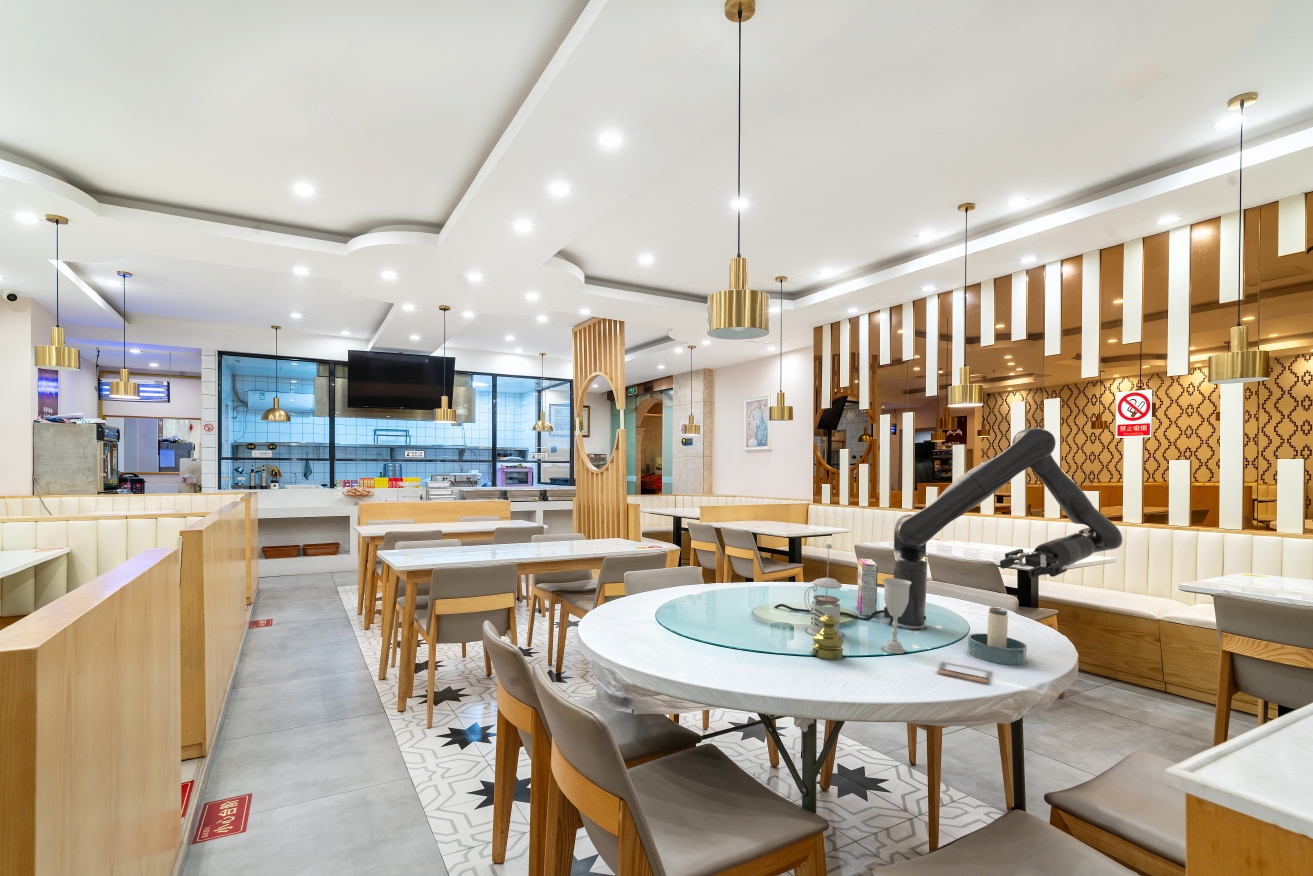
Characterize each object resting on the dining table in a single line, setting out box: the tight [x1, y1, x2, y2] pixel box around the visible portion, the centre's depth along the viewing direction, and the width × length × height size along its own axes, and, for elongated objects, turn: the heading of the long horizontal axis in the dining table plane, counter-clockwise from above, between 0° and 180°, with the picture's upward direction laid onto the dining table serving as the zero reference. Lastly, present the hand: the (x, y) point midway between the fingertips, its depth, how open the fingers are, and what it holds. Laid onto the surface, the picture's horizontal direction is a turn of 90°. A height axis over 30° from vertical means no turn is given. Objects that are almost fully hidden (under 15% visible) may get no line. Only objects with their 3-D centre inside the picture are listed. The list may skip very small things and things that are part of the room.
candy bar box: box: [856, 558, 879, 618], centre depth 200 cm, size 11×5×16 cm, turn 168°
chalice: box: [882, 577, 911, 655], centre depth 161 cm, size 7×7×18 cm
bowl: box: [967, 632, 1027, 666], centre depth 158 cm, size 13×13×4 cm
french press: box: [803, 543, 844, 638], centre depth 175 cm, size 10×12×25 cm
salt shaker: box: [811, 614, 845, 661], centre depth 154 cm, size 7×7×10 cm
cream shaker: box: [986, 606, 1009, 648], centre depth 158 cm, size 4×4×12 cm
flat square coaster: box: [938, 668, 989, 685], centre depth 146 cm, size 10×10×1 cm
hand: (1015, 569), depth 164 cm, fingers open, 8 cm apart
